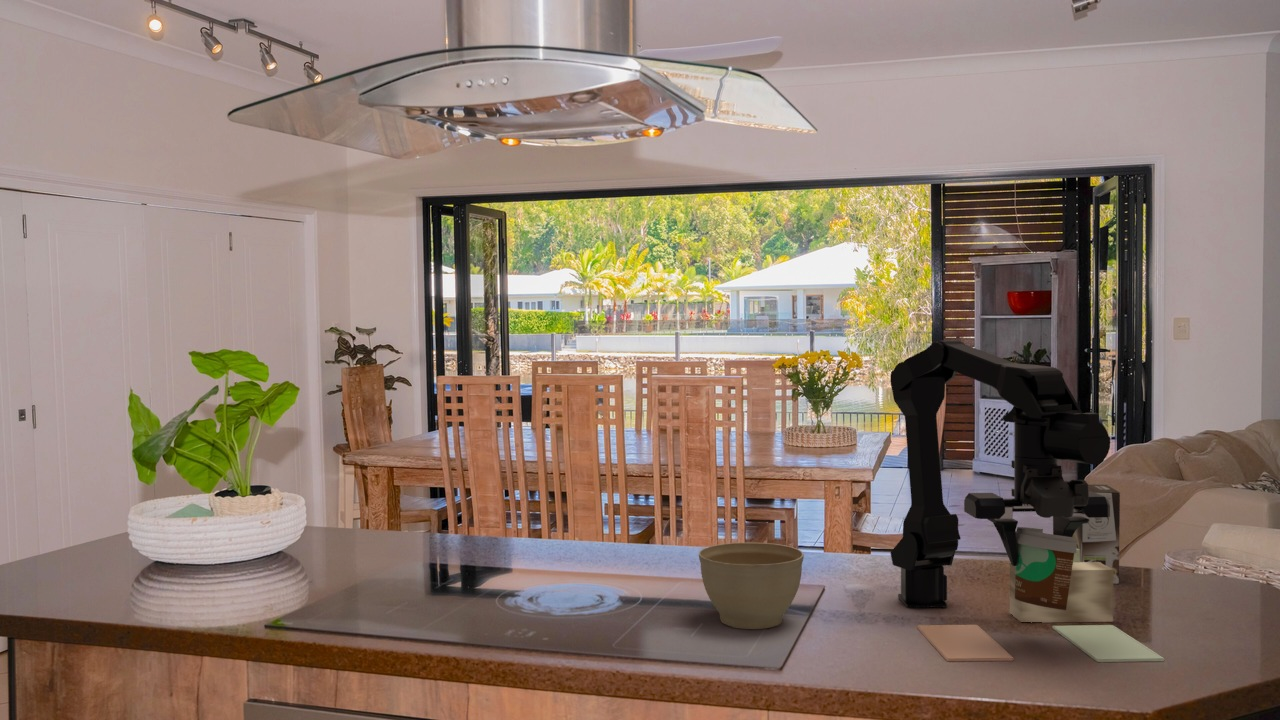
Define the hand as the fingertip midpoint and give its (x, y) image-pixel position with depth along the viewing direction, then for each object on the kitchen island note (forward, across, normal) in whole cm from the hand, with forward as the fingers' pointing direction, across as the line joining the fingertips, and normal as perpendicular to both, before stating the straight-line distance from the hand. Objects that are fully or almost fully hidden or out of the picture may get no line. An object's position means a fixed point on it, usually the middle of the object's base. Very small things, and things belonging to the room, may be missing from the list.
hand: (1035, 565), depth 144 cm
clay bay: (+11, -10, +1) cm, 15 cm away
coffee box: (+12, +25, +37) cm, 46 cm away
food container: (+5, -1, -1) cm, 5 cm away
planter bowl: (+12, -39, +13) cm, 43 cm away
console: (+12, +9, +13) cm, 20 cm away
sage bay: (+11, +10, 0) cm, 15 cm away
